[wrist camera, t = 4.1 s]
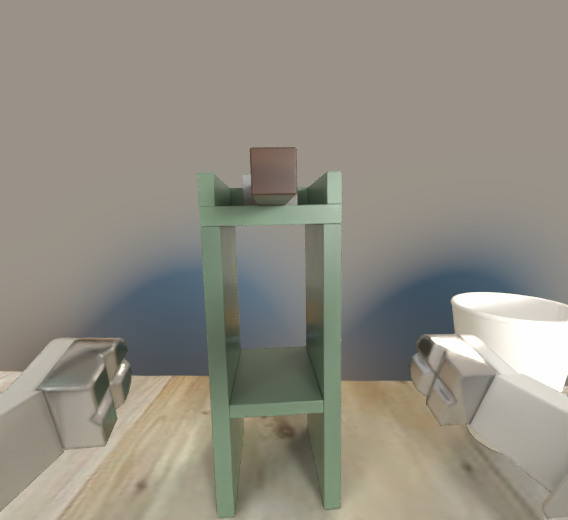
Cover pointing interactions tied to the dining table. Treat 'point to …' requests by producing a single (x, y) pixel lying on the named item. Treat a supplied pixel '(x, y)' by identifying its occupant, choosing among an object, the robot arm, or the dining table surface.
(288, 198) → the mallet
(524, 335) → the cup
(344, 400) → the dining table surface
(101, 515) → the dining table surface
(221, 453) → the stand
